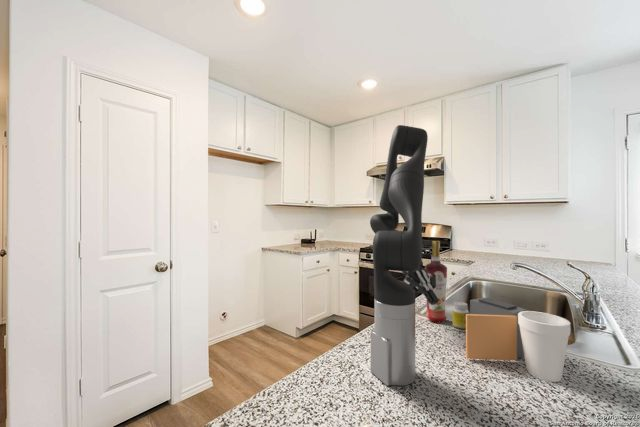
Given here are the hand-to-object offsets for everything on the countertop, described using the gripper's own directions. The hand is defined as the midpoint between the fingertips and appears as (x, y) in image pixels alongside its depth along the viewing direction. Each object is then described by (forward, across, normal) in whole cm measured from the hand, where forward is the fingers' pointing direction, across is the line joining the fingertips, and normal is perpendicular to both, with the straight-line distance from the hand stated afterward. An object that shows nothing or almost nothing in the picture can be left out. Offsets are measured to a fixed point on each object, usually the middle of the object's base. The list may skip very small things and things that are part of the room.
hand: (435, 303), depth 82 cm
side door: (+18, +2, -4) cm, 18 cm away
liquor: (0, +12, +15) cm, 19 cm away
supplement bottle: (+7, +13, +9) cm, 17 cm away
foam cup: (+25, +8, -10) cm, 28 cm away
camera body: (+16, +11, -1) cm, 19 cm away
